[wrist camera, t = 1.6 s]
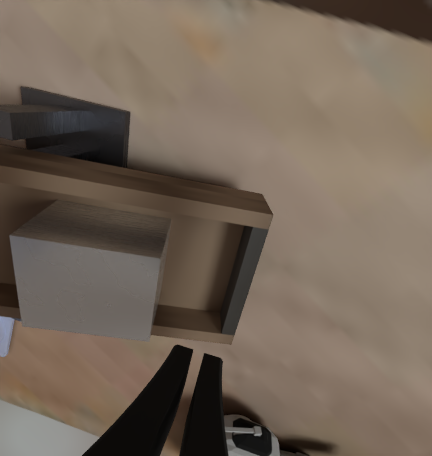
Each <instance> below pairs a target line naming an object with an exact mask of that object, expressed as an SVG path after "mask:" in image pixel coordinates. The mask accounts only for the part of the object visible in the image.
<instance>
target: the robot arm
mask: <svg viewBox="0 0 432 456" xmlns="http://www.w3.org/2000/svg"><path fill="white" fill-rule="evenodd" d="M14 320H15V319H12V318H10V317H2V316H0V356H1V357H5V356H6V355H7V354H8V351H9V346H10V340H11V335H12V330H13V325H14ZM192 353H193V349H190V348H187V347H183V346H180V345H175V346H174V347H173V349H172V351H171V352H170V354H169V356H168V357H167V359H166V360H165V362H164V363H163V365H162V366H161V367H160V369H159V370H158V371H157V373H156V374H155V376H154V377H153V378H152V379H151V381H150V382H149V383H148V384H147V386H146V387H145V388H144V389H143V391H142V392H141V393H140V394H139V396H138V397H137V398H136V399H135V400H134V401H133V403H132V404H131V405H130V406H129V407H128V408H127V409H126V410H125V411H124V413H123V414H122V415H121V416H120V417H119V418H118V419H117V420H116V422H115V423H114V424H113V425H112V426H111V427H110V428H109V429H108V430H107V431H106V432H105V433H104V434H103V435H102V436H101V437H100V438H99V439H98V440H97V441H96V442H95V443H94V444H93V445H92V446H91V447H90V448H89V449H88V450H87V451H86V452H85V453H84V454H83V455H82V456H160V454H161V451H162V449H163V446H164V444H165V441H166V439H167V436H168V434H169V431H170V428H171V426H172V423H173V421H174V418H175V416H176V412H177V409H178V406H179V403H180V399H181V396H182V393H183V389H184V386H185V382H186V378H187V374H188V370H189V365H190V361H191V357H192ZM222 364H223V361H222V359H221V358H219V357H216V356H212V355H209V354H206V353H204V356H203V360H202V363H201V367H200V371H199V374H198V378H197V382H196V385H195V389H194V393H193V397H192V400H191V404H190V408H189V412H188V415H187V419H186V424H185V429H184V434H183V439H182V445H181V450H180V455H179V456H229V455H228V448H227V441H226V433H225V424H224V414H223V401H222Z"/></svg>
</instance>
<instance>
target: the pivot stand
mask: <svg viewBox="0 0 432 456" xmlns="http://www.w3.org/2000/svg"><path fill="white" fill-rule="evenodd" d="M21 95H22V105H0V137H2V138H5V139H9V140H19V139H26V147H27V149H28V150H33V151H38V152H43V153H49V154H54V155H59V156H64V157H70V158H75V159H80V160H85V161H91V162H96V163H101V164H106V165H112V166H117V167H122V168H127V155H128V139H129V124H130V112H129V111H125V110H121V109H116V108H112V107H108V106H104V105H100V104H96V103H92V102H88V101H83V100H79V99H75V98H71V97H67V96H63V95H59V94H55V93H50V92H46V91H42V90H38V89H34V88H30V87H21ZM12 319H15V320H18V321H21V319H18V318H12ZM21 322H22V321H21Z"/></svg>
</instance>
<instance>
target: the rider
mask: <svg viewBox="0 0 432 456" xmlns="http://www.w3.org/2000/svg"><path fill="white" fill-rule="evenodd" d="M171 220H172V219H168V218H162V217H157V216H151V215H145V214H139V213H133V212H128V211H122V210H116V209H110V208H104V207H99V206H93V205H87V204H81V203H75V202H70V201H64V200H57V201H55V202H54V203H53V204H51V205H50V206H49V207H47V208H46V209H44V210H43V211H42V212H40V213H39V214H38V215H36V216H35V217H33V218H32V219H31V220H29V221H28V222H27V223H25V224H24V225H23V226H21V227H20V228H18V229H17V230H16V231H14V232H13V233H12V234H10V235H9V237H10V244H11V251H12V258H13V265H14V272H15V279H16V286H17V293H18V300H19V307H20V314H21V321H22V326H24V327H32V328H40V329H49V330H57V331H65V332H74V333H82V334H90V335H99V336H107V337H115V338H124V339H132V340H140V341H149V340H150V336H151V331H152V327H153V323H154V318H155V314H156V310H157V306H158V301H159V297H160V293H161V287H162V281H163V274H164V267H165V260H166V254H167V247H168V240H169V233H170V227H171Z"/></svg>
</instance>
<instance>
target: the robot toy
mask: <svg viewBox="0 0 432 456" xmlns="http://www.w3.org/2000/svg"><path fill="white" fill-rule="evenodd" d="M224 424H225V433H226V441H227V448H228V455H229V456H309V455H305V454H302V453H298V452H296V454H295V453H291V452H286V451H282V450H280V451H279V443H278V439H277V438H276V436H275V435H274V434H273V433H272V432H271V431H270V429H269V428H268V427H265V426H263V425H260V424H257V423H255V422H252V421H251V420H250V419H249V418H247V417H245V416H242V415H233V414H232V415H225V416H224Z"/></svg>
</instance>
